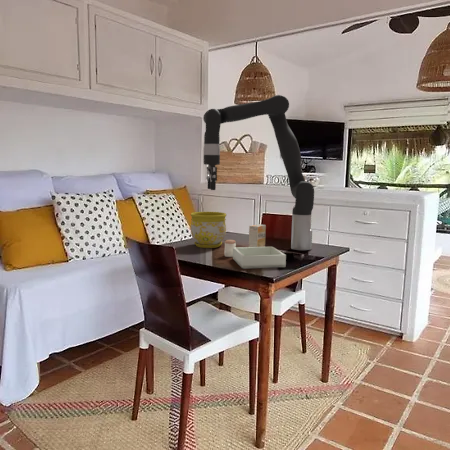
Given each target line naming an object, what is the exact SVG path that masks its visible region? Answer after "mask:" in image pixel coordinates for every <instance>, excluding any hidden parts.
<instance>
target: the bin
mask: <svg viewBox="0 0 450 450" xmlns="http://www.w3.org/2000/svg"><path fill="white" fill-rule="evenodd" d="M232 259H233V260H234V261H235V263H236V264H237V265H238V266H239V267H240V268H241V269H243V270H244V269H246V270H247V269H268V268H269V269H271V268H274V269H275V268H286V265H287V261H286V260H287V254H285V253H284V252H282V251H280V250H279V249H277V248H276V247H274V246H265V247H249V246H245V247H244V246H243V247H242V246H241V247H235V248H233V257H232Z"/></svg>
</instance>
